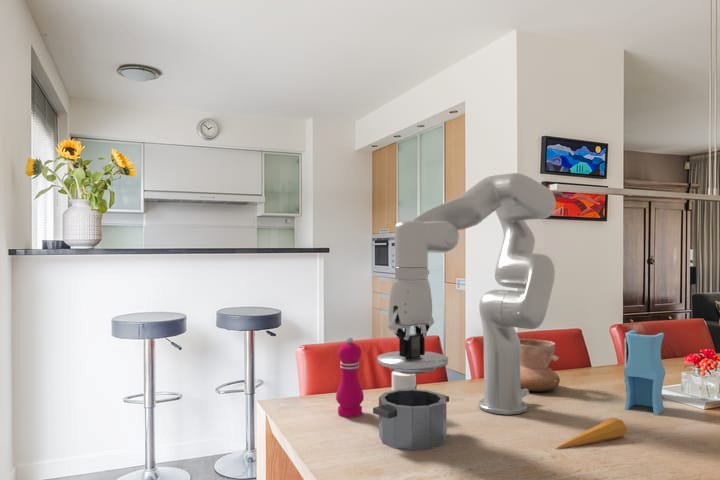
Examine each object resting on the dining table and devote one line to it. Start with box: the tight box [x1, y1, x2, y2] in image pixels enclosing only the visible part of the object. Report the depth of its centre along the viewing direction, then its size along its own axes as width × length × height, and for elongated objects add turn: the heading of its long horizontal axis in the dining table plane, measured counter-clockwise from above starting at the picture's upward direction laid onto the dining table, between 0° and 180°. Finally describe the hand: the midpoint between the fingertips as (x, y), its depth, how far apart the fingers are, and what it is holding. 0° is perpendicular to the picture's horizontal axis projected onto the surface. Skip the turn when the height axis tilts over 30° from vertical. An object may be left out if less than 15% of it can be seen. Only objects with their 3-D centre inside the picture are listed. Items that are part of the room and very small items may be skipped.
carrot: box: [555, 417, 628, 449], centre depth 118 cm, size 20×4×4 cm, turn 114°
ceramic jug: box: [519, 338, 561, 393], centre depth 163 cm, size 18×14×14 cm
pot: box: [372, 388, 450, 451], centre depth 121 cm, size 19×15×9 cm
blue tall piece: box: [623, 329, 666, 416], centre depth 141 cm, size 8×8×20 cm
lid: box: [376, 333, 449, 375], centre depth 121 cm, size 16×16×8 cm
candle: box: [391, 371, 418, 391], centre depth 139 cm, size 6×6×15 cm
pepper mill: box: [335, 336, 365, 418], centre depth 139 cm, size 7×7×20 cm
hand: (412, 354), depth 121 cm, fingers closed on lid, 3 cm apart
